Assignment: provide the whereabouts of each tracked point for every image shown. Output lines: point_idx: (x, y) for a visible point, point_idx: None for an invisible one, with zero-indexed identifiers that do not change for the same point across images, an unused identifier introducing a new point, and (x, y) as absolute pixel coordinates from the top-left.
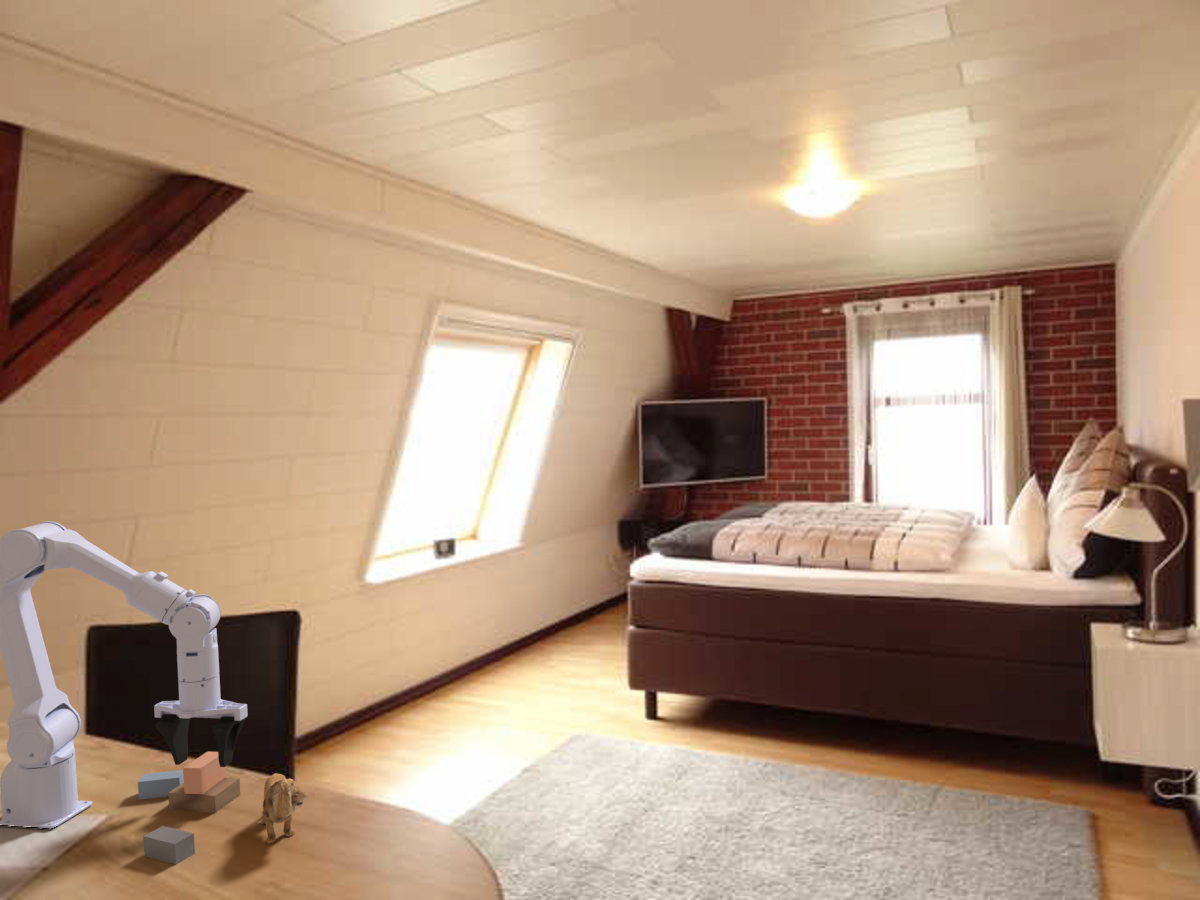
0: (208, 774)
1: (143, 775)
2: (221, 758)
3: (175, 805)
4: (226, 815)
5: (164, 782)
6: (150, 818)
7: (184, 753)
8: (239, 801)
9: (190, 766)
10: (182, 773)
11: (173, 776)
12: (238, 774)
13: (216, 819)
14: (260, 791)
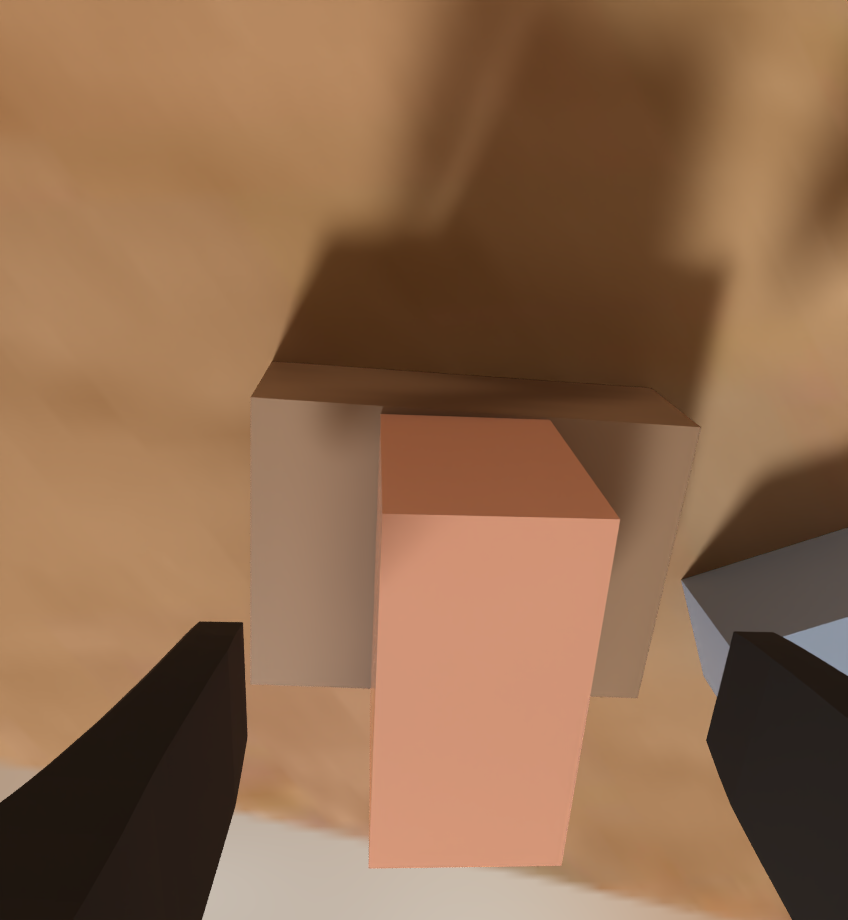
0: (377, 566)
1: None
2: (172, 669)
3: (607, 391)
4: (164, 328)
5: (824, 604)
6: (720, 246)
7: (751, 772)
8: (212, 527)
9: (543, 553)
10: None
11: None
12: None
13: (199, 263)
14: None
